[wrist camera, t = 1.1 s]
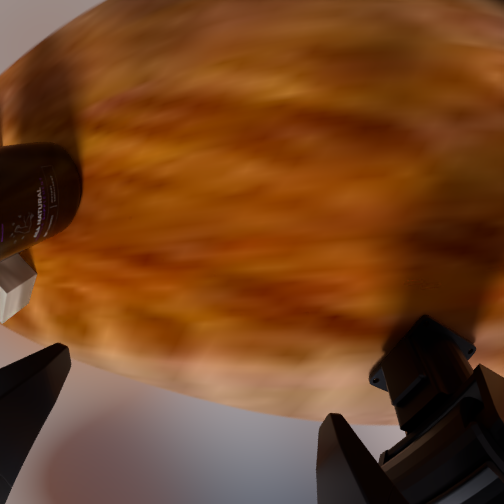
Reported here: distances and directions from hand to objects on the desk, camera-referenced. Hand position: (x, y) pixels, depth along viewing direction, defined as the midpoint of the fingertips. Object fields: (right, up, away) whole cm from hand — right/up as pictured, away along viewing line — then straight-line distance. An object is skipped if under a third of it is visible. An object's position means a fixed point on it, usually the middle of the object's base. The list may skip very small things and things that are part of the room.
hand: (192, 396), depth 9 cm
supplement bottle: (-13, +9, +10) cm, 19 cm away
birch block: (-19, +3, +13) cm, 23 cm away
